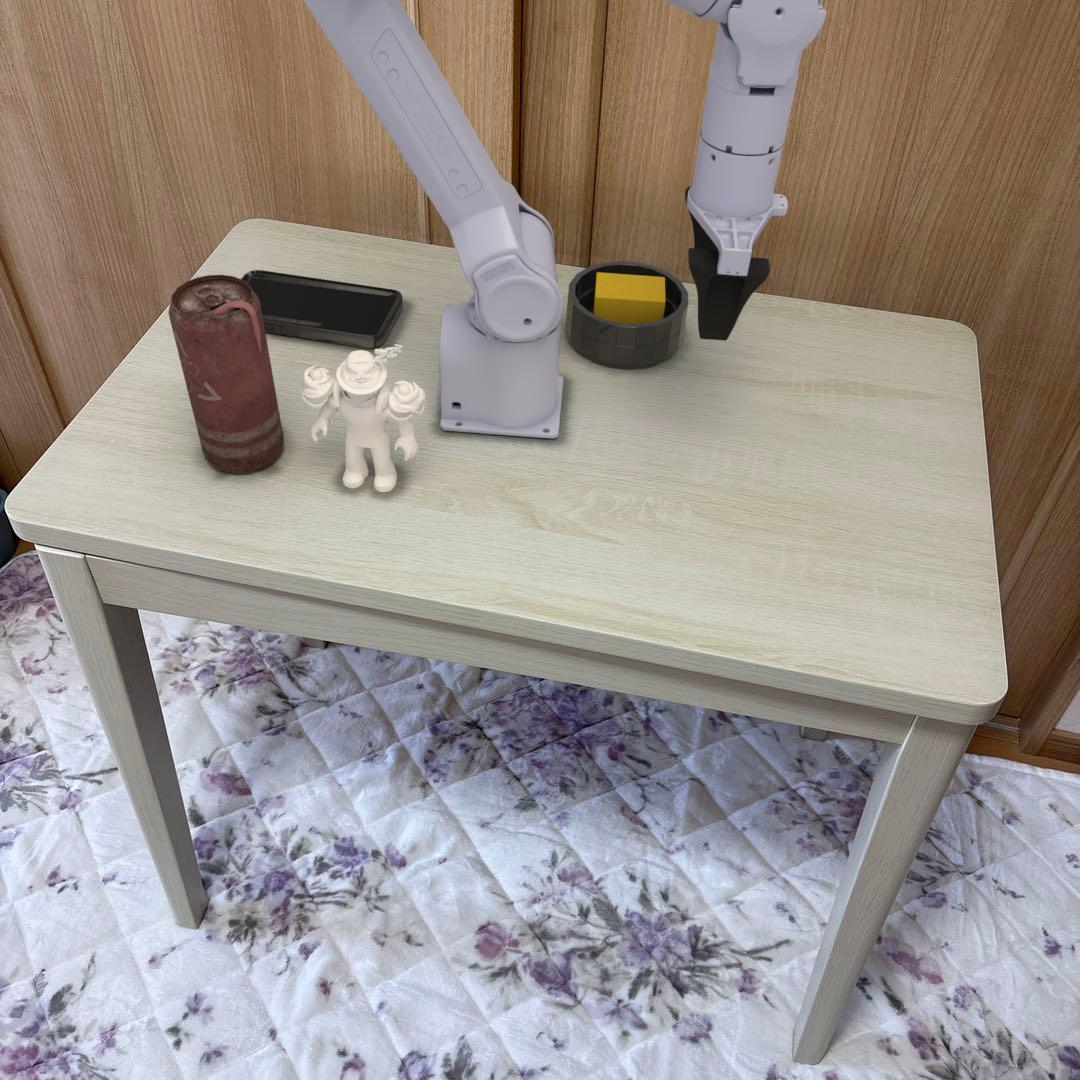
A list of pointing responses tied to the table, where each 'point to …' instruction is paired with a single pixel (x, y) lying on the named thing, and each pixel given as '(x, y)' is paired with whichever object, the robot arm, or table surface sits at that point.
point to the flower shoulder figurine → (366, 413)
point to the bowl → (624, 340)
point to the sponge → (629, 298)
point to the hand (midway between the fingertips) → (710, 308)
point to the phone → (325, 308)
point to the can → (227, 372)
